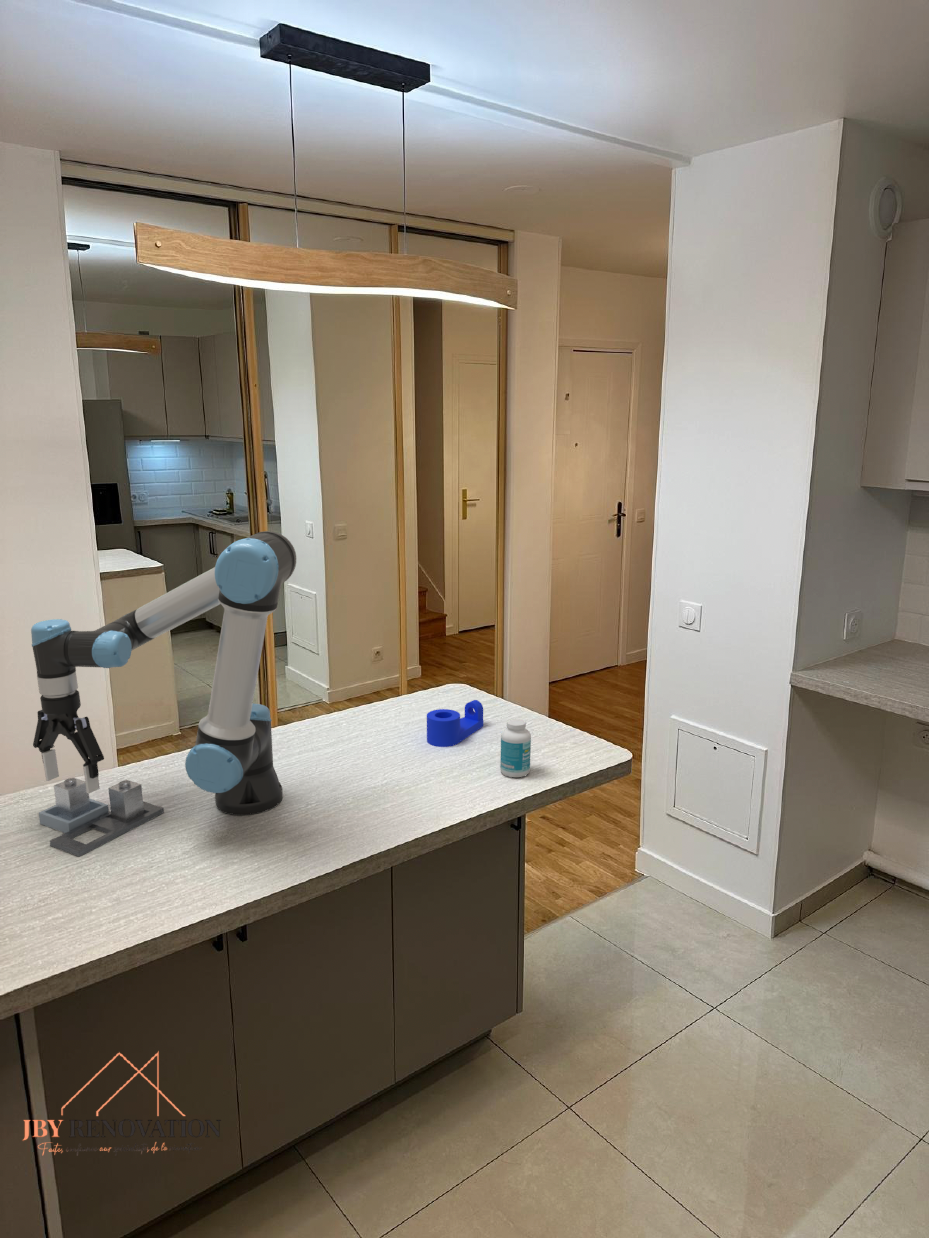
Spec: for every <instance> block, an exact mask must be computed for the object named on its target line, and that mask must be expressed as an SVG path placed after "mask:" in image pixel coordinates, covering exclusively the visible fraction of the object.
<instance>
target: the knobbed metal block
mask: <svg viewBox="0 0 929 1238" xmlns="http://www.w3.org/2000/svg"><path fill="white" fill-rule="evenodd" d="M53 790H54V798H55V805H56V807H57V815H58V817H60V818H62V819H65V820H68V821H70V820H72V819H75V818H77V817H79V816H81V815H83V814H85V813H87V812H89V811H91V808H90V800H89V798H90V793H87V791H86V784H85V780H83V779H79V778H77V777H71V778H66V779H64V781H63V780H62V781H61V782H59V783H56V784H54V785H53Z"/></svg>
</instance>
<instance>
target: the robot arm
mask: <svg viewBox="0 0 929 1238" xmlns="http://www.w3.org/2000/svg"><path fill="white" fill-rule="evenodd" d="M296 566H297V553H296V550H295V547H294V545H293V544H292V542H291V541H290V540H289V539H288V538H287V537H286V536H284V535H282V534H281V533H278V532H276V531H272V530H270V531H269V530H265V531H259V532H257V533H254V534H252V535H249V536H248V537H246V538H242V539H238V540H235V541H234V542H233V543H231V544H229V545H228V546H227V547H226V548H224V550H223V551H221V553H220V554H219V556H218V558H217V560H216V562H215V566H214V567H213V568H211V569H209V570H207V571H205V572H203V573H202V574H201V573H200V574H199V575H198V576H197V575H196V577H194V578H192V579H189V580H188V581H186V582H185V583H182V584H180V585H179V586H177V587H176V588H172V589H171V590H170V591H168V592H166V593H164V594H162V595H161V596H159V597H156V598H154V599H153V600H151V601H149V602H147V603H145V604H143V605H142V606H140V607H138V608H137V609H135V610H132V611H130V612H129V613H126V614H124V615H122V616H121V617H119V618H118V619H115V620H114V621H111V622H110V623H107V624H105V625H104V626H101V627H99V628H97V629H95V630H85V631H84V630H72V627H71V624H70V621H68V620H66V619H62V618H61V619H59V618H57V619H54V618H53V619H47V620H42V621H39V622H36V623H34V624H33V625H32V627H31V629H30V633H31V634H30V635H31V647H32V652H33V657H34V661H35V662H34V663H35V668H36V679H37V686H38V687H37V688H38V692H39V695H40V704H41V709H40V710H38V711H37V712H36V713H37V723H36V728H35V733H34V739H33V741H32V742H33V743H32V745H33V746H32V747H33V748H35V749H37V748H38V751H39V752H40V753H41V759H42V764H43V770H44V775H45V781H47V782H49V781H52V780H55V779H57V778H59V777H60V774H59V767H58V760H57V754H56V753H57V752H56V749H54V748H55V746H56V745H54V744H55V742H56V741H57V738H59V735H62V736H63V737H66V738H67V740H70V741H71V743H72V744H73V746H74V747H75V749H76V750H77V753H78V754H79V756H80V757H81V758H82V760H83V762H84V763H83V764H82V767H83V775H84V776H83V777H84V781H85V784H86V791H87V793H89V794H92V793H93V792H96V791H97V790H99V789H100V778H99V775H100V774H99V767H98V763H99V762H101V761H104V759H105V756H104V754H103V752H102V749H101V748H100V745H99V743H98V741H97V738H96V735H95V734H94V732H93V730H92V727H91V723H90V718H89V717H88V716H84V717H79V716H78V715H79V714H78V711H79V709H80V708H81V704H82V703H81V696H80V691H79V690H78V688H79V685H78V684H79V683H78V677H77V669H76V668H78V667H79V668H103V669H112V668H121V667H124V666H125V665H127V663H128V662H129V659H130V658H131V655H132V651H133V650H135V649H137V648H139V647H142V646H144V645H145V644H147V643H149V642H151V641H153V640H154V639H157V638H158V637H159V636H162V635H163V634H165V633H168V632H169V631H171V630H173V629H175V628H177V627H179V626H181V625H183V624H185V623H186V622H189V621H190V620H192V619H194V618H196V617H199V616H200V615H202V614H204V613H206V612H208V611H210V610H211V609H214V608H216V607H217V606H219V605H221V606H222V607H223V617H222V622H221V628H220V629H221V630H220V636H219V642H218V648H217V654H216V660H215V661H216V662H215V667H214V672H213V673H214V674H213V681H212V684H211V685H212V686H211V693H210V697H209V706H208V711H207V715H206V716H204V717H201V719H200V720H199V723H198V725H197V726H198V727H197V733H196V739H195V743H194V746H193V747H192V748H191V749H189V751H188V753H187V754H186V755H187V756H186V758H185V762H184V763H185V764H184V765H185V766H184V767H185V771H186V774H187V776H188V778H189V779H190V780H191V781H192V782H193V785H195V786H196V787H197V788H199V789H201V790H203V791H205V792H208V793H213V794H214V798H215V799H214V800H215V806H216V808H217V809H218V810H219V811H220V812H222V813H225V814H229V815H232V816H235V815H236V816H249V815H255V814H260V813H265V812H266V811H269V810H272V809H273V808H275V807H277V806H278V805H280V804H281V803H282V800H283V797H284V796H283V795H284V794H283V786H282V784H281V782H280V780H279V777H278V775H277V772H276V770H275V767H274V757H273V756H274V755H273V738H272V737H273V735H272V720H273V719H272V718H271V711H270V709H269V708H268V707H267V706H266V705H264V704H260V703H253V702H254V698H255V691H256V686H257V680H258V677H259V676H258V673H259V669H260V663H261V659H262V658H261V656H262V652H263V646H264V641H265V633H266V628H267V623H268V619H269V618H268V616H269V615H271V614H272V613H274V612H275V611H276V610H277V609H278V605H279V604H278V603H279V600H280V599H279V598H280V593H281V586H282V584H284V583H285V582H286V581H288V580H289V579H290V578H291V577H292V575H293V574H294V572H295V569H296Z"/></svg>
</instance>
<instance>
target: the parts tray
mask: <svg viewBox="0 0 929 1238" xmlns="http://www.w3.org/2000/svg"><path fill="white" fill-rule="evenodd" d="M89 800H90V808H91V811H89V812H87V813H85V814H83V815H81V816H79V817H77V818H75V819H72V820H70V821H68V820H65V819H62V818H60V817H58V815H57V807H56V804H54V805H53V806H50V807H47V808H46V809H44V810H41V811H39V812H38V820H39V825H42V826H45V827H47V828H50V829H53V830H55V831H59V832H61V833H63V834H64V833H67V832H69V831H71V830H73V829H75V828H77V827H79V826H81V825H83V824H85V823H87V822H89V821H91V820H93V819H95V818H97V817H100V816H102V815H104V814H106V813H108V812H110V809H109V804H108V803H104V802H101V801H98V800H95V799H92V798H90V797H89Z"/></svg>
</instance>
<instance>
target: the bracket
mask: <svg viewBox="0 0 929 1238" xmlns="http://www.w3.org/2000/svg"><path fill="white" fill-rule="evenodd" d="M483 727H484V707H483V704H482V702H480V701H479V700H477V699H473V700H471V701H468V702H467V703H465V705H464V716H463V717H461V714H460V712H458V711H457V710H453V709H448V708H442V709H441V708H439V709H434V710H431V711H429V712H427V713H426V742H427V744H429V745H430V746H433V747H436V748H437V747H438V748H449V747H454V746H456V745H458V744H459V743H461V742H463V741H464V740H466V739H467V738H469V737H470V736H472V735H473V734H474V733H476V732H477V731H479V730H480V729H481V728H483Z"/></svg>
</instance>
